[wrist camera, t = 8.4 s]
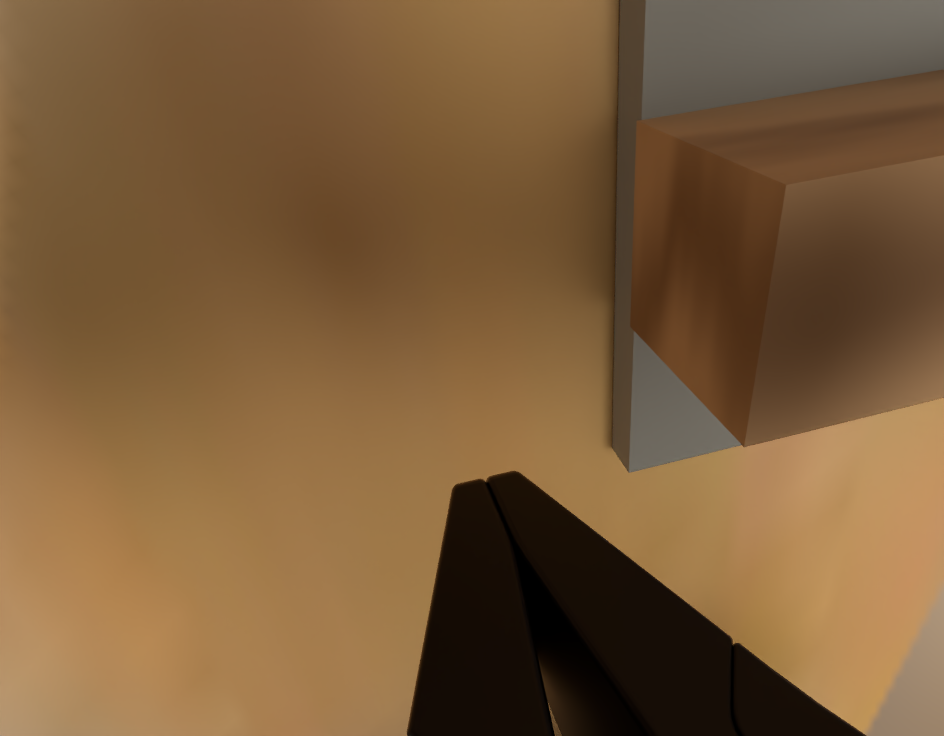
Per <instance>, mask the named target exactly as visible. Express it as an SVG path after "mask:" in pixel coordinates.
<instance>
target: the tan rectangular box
mask: <svg viewBox="0 0 944 736" xmlns="http://www.w3.org/2000/svg"><path fill="white" fill-rule="evenodd" d="M630 327H631V328H632V329H633V330H634V331H635V332H636V333H637V335H638V336H639V337H640V338H641V339H642V340H643V341H644V342H645V343H646V344H647V345H648V346H649V347H650V348H651V349H652V350H653V351H654V353H655V354H656V355H657V356H658V357H659V358H660V359H661V360H662V361H663V362H664V363H665V364H666V365H667V366H668V367H669V368H670V369H671V370H672V372H673V373H674V374H675V375H676V376H677V377H678V378H679V379H680V380H681V381H682V382H683V383H684V384H685V385H686V386H687V387H688V388H689V390H690V391H691V392H692V393H693V394H694V395H695V396H696V397H697V398H698V399H699V400H700V401H701V402H702V403H703V404H704V405H705V406H706V407H707V409H708V410H709V411H710V412H711V413H712V414H713V415H714V416H715V417H716V418H717V419H718V420H719V421H720V422H721V423H722V424H723V425H724V427H725V428H726V429H727V430H728V431H729V432H730V433H731V434H732V435H733V436H734V437H735V438H736V439H737V440H738V441H739V442H740V443H741V444H742V446H743V447H747V446H751V445H755V444H759V443H763V442H767V441H771V440H775V439H779V438H783V437H787V436H791V435H795V434H799V433H803V432H807V431H811V430H816V429H820V428H824V427H828V426H832V425H836V424H840V423H844V422H848V421H852V420H856V419H860V418H864V417H868V416H872V415H876V414H880V413H884V412H888V411H892V410H896V409H900V408H905V407H909V406H913V405H917V404H921V403H925V402H929V401H933V400H937V399H941V398H944V69H943V70H937V71H931V72H925V73H919V74H913V75H907V76H901V77H895V78H889V79H883V80H877V81H871V82H865V83H859V84H853V85H847V86H841V87H835V88H829V89H824V90H818V91H812V92H806V93H800V94H794V95H788V96H782V97H776V98H770V99H764V100H758V101H752V102H746V103H740V104H734V105H728V106H722V107H716V108H710V109H704V110H698V111H692V112H686V113H680V114H674V115H668V116H662V117H657V118H651V119H645V120H639V121H637V127H636V158H635V189H634V220H633V251H632V282H631V313H630Z"/></svg>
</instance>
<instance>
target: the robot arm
mask: <svg viewBox="0 0 944 736" xmlns="http://www.w3.org/2000/svg"><path fill="white" fill-rule="evenodd" d="M548 703H549V705H550V708H551V710H552V712H553V715H554V717H555V720H556V722H557V724H558V727H559V729H560V731H561V734H562V736H866V735H865V734H863V733H862V732H860V731H859V730H857V729H856V728H854V727H853V726H851V725H850V724H849V723H847V722H846V721H844V720H843V719H841V718H840V717H838V716H837V715H835V714H834V713H832V712H831V711H829V710H828V709H826V708H825V707H823V706H822V705H820V704H819V703H818V702H816V701H815V700H814V699H812V698H811V697H809V696H808V695H807V694H805V693H804V692H803V691H801V690H800V689H799V688H797V687H796V686H795V685H793V684H792V683H791V682H789V681H788V680H787V679H785V678H784V677H783V676H781V675H780V674H778V673H777V672H776V671H774V670H773V669H772V668H770V667H769V666H768V665H766V664H765V663H764V662H763V661H761V660H760V659H759V658H757V657H756V656H755V655H754V654H752V653H751V652H750V651H749V650H747V649H746V648H745V647H743V646H742V645H741V644H740V643H735V644H733V640H732V638H731V637H730V636H729V635H728V634H726V633H725V632H724V631H723V630H721V629H720V628H719V627H717V626H716V625H715V624H714V623H712V622H711V621H710V620H708V619H707V618H706V617H705V616H703V615H702V614H701V613H699V612H698V611H697V610H696V609H694V608H693V607H692V606H690V605H689V604H688V603H687V602H685V601H684V600H683V599H681V598H680V597H679V596H678V595H676V594H675V593H674V592H672V591H671V590H670V589H669V588H667V587H666V586H665V585H663V584H662V583H661V582H660V581H658V580H657V579H656V578H654V577H653V576H652V575H651V574H649V573H648V572H647V571H645V570H644V569H643V568H642V567H640V566H639V565H638V564H636V563H635V562H634V561H633V560H631V559H630V558H629V557H627V556H626V555H625V554H624V553H622V552H621V551H620V550H618V549H617V548H616V547H615V546H613V545H612V544H611V543H609V542H608V541H607V540H606V539H604V538H603V537H602V536H600V535H599V534H598V533H597V532H595V531H594V530H593V529H591V528H590V527H589V526H588V525H586V524H585V523H584V522H582V521H581V520H580V519H579V518H577V517H576V516H575V515H574V514H572V513H571V512H570V511H568V510H567V509H566V508H565V507H563V506H562V505H561V504H559V503H558V502H557V501H556V500H554V499H553V498H552V497H550V496H549V495H548V494H547V493H545V492H544V491H543V490H541V489H540V488H539V487H538V486H536V485H535V484H534V483H532V482H531V481H530V480H529V479H527V478H526V477H525V476H523V475H522V474H521V473H519V472H517V471H510V472H506V473H501V474H497V475H493V476H490V477H488V478H487V480H486V482H485V481H484V480H483V479H476V480H472V481H468V482H464V483H460V484H456V485H455V486H454V487H453V489H452V493H451V498H450V504H449V509H448V515H447V520H446V525H445V531H444V536H443V541H442V547H441V552H440V557H439V563H438V568H437V573H436V579H435V584H434V590H433V595H432V600H431V606H430V611H429V616H428V622H427V627H426V632H425V638H424V643H423V648H422V654H421V659H420V665H419V670H418V675H417V681H416V686H415V691H414V697H413V702H412V707H411V713H410V718H409V723H408V729H407V736H555V735H554V730H553V725H552V720H551V716H550V711H549V706H548Z"/></svg>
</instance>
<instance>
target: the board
mask: <svg viewBox="0 0 944 736" xmlns="http://www.w3.org/2000/svg"><path fill="white" fill-rule="evenodd" d="M943 69H944V0H620V25H619V84H618V143H617V202H616V261H615V320H614V379H613V438H612V448H613V450H614V451H615V453H616V454H617V456H618V457H619V459H620V460H621V462H622V463H623V465H624V466H625V468H626V469H627V471H628V472H629V473H630V472H634V471H638V470H642V469H646V468H650V467H655V466H659V465H663V464H667V463H671V462H675V461H679V460H683V459H687V458H691V457H695V456H699V455H703V454H707V453H711V452H715V451H719V450H723V449H727V448H732V447H736V446H740V445H742V444H741V443H740V442H739V441H738V440H737V439H736V438H735V437H734V436H733V435H732V434H731V433H730V432H729V431H728V430H727V429H726V428H725V427H724V425H723V424H722V423H721V422H720V421H719V420H718V419H717V418H716V417H715V416H714V415H713V414H712V413H711V412H710V411H709V410H708V409H707V407H706V406H705V405H704V404H703V403H702V402H701V401H700V400H699V399H698V398H697V397H696V396H695V395H694V394H693V393H692V392H691V391H690V390H689V388H688V387H687V386H686V385H685V384H684V383H683V382H682V381H681V380H680V379H679V378H678V377H677V376H676V375H675V374H674V373H673V372H672V370H671V369H670V368H669V367H668V366H667V365H666V364H665V363H664V362H663V361H662V360H661V359H660V358H659V357H658V356H657V355H656V354H655V353H654V351H653V350H652V349H651V348H650V347H649V346H648V345H647V344H646V343H645V342H644V341H643V340H642V339H641V338H640V337H639V336H638V335H637V333H636V332H635V331H634V330H633V329H632V328H631V327H630V313H631V282H632V251H633V220H634V189H635V158H636V127H637V121H639V120H645V119H651V118H657V117H662V116H668V115H674V114H680V113H686V112H692V111H698V110H704V109H710V108H716V107H722V106H728V105H734V104H740V103H746V102H752V101H758V100H764V99H770V98H776V97H782V96H788V95H794V94H800V93H806V92H812V91H818V90H824V89H829V88H835V87H841V86H847V85H853V84H859V83H865V82H871V81H877V80H883V79H889V78H895V77H901V76H907V75H913V74H919V73H925V72H931V71H937V70H943Z"/></svg>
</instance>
